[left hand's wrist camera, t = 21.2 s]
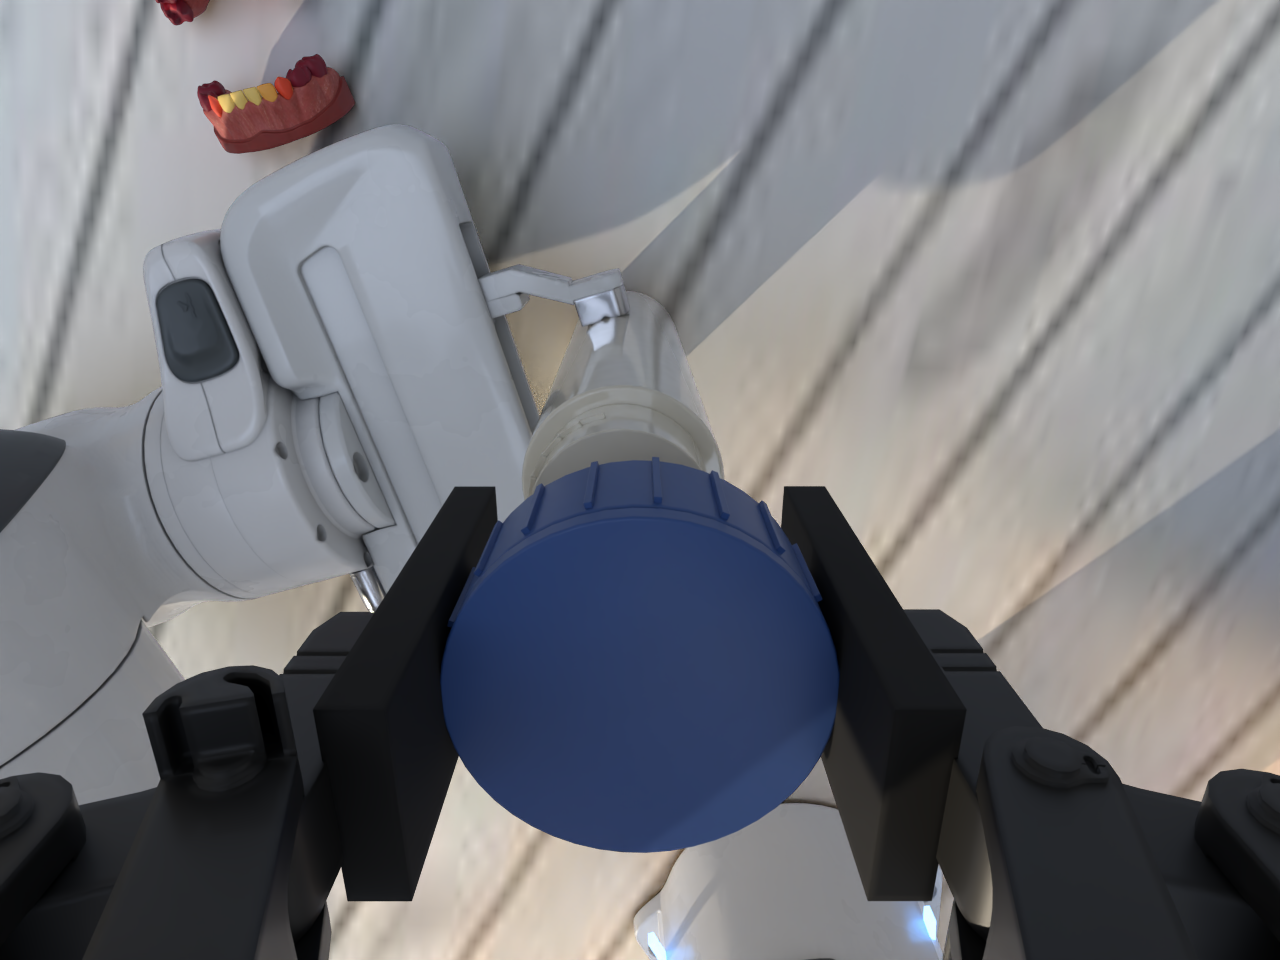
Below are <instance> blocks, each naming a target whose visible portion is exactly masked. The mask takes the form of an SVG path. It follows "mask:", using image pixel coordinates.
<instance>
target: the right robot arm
mask: <svg viewBox="0 0 1280 960" xmlns="http://www.w3.org/2000/svg"><path fill="white" fill-rule="evenodd" d="M143 273H144V282H145V288H146V293H147V298H148V303H149V308H150V314H151V319H152V324H153V329H154V335H155V341H156V347H157V353H158V359H159V366H160V373H161V381H162V387H160V388H158V389H156V390H155V391H153V392H151V393H150V394H149V395H147V396H146V397H145V398H143V399H142V400H141V401H139V402H137V403H135V404H133V405H130V406H127V407H121V408H106V407H104V408H87V409H82V410H76V411H72V412H69V413H65V414H62V415H59V416H55V417H52V418H49V419H46V420H42V421H39V422H37V423H34V424H31V425H28V426H25V427H22V428H19V429H16V430H3V429H0V779H4V778H7V777H10V776H16V775H23V774H30V773H37V772H41V773H48V774H56V775H61V776H62V777H63V778H64V779H66V780H67V781H68V782H69V783H71V784H72V786H73V790H74V793H75V796H76V799H77V802H78V805H82V804H87V803H92V802H96V801H101V800H105V799H110V798H114V797H119V796H124V795H128V794H133V793H137V792H141V791H145V790H148V789H152V788H155V787H157V786H158V784H159V781H160V776H159V772H158V769H157V765H156V761H155V758H154V754H153V751H152V747H151V743H150V740H149V736H148V733H147V729H146V726H145V722H144V718H143V715H142V713H143V712H144V711H145V710H146V709H147V707H148V706H149V705H150V704H151V703H152V701H153V700H154V699H155V698H156V697H158V696H159V695H160V694H162V693H163V692H165V691H166V690H168V689H169V688H171V687H172V686H174V685H175V684H177V683H179V682H182V681H184V680H185V679H184V677H183V676H182V675H181V673H180V672H179V670H178V669H177V668H176V666H175V665H174V664H173V662H172V661H171V659H170V658H169V657H168V655H167V654H166V653H165V651H164V650H163V648H162V647H161V646H160V644H159V643H158V642H157V640H156V639H155V638H154V636H153V635H152V633H151V632H150V631H149V629H148V627H152V626H155V625H157V624H160V623H163V622H166V621H168V620H171V619H173V618H174V617H176V616H178V615H180V614H181V613H183V612H185V611H186V610H188V609H189V608H191V607H193V606H194V605H197V604H199V603H202V602H207V601H226V602H236V601H245V600H252V599H256V598H259V597H263V596H266V595H270V594H274V593H278V592H282V591H285V590H289V589H293V588H297V587H300V586H304V585H308V584H312V583H315V582H320V581H323V580H327V579H331V578H334V577H338V576H342V575H345V574H350V576H351V578H352V580H353V582H354V584H355V586H356V589H357V591H358V593H359V595H360V597H361V599H362V601H363V603H364V604H365V606H366V608H367V609H368V611H369V612H375V611H376V609H377V608H378V606H379V605H380V603H381V602H382V600H383V598H384V597H385V595H386V594H387V592H388V591H389V589H390V587H391V586H392V584H393V583H394V581H395V580H396V578H397V576H398V575H399V573H400V572H401V570H402V569H403V567H404V565H405V564H406V562H407V561H408V559H409V558H410V556H411V554H412V553H413V551H414V550H415V548H416V547H417V545H418V543H419V542H420V540H421V539H422V537H423V536H424V534H425V532H426V531H427V529H428V528H429V526H430V525H431V523H432V521H433V520H434V518H435V517H436V515H437V514H438V512H439V510H440V509H441V507H442V506H443V504H444V503H445V501H446V500H447V498H448V496H449V495H450V493H451V492H452V490H453V489H454V487H455V486H495V488H496V502H497V516H498V520H499V521H501V522H502V523H503V522H504V521H505V520H506V518H507V517H508V516H509V515H510V514H511V513H512V512H513V511H514V510H515V509H516V508H517V507H518V506H519V505H520V504H521V503H522V502H524V501H525V500H524V495H523V490H522V469H523V462H524V458H525V453H526V451H527V448H528V445H529V443H530V440H531V438H532V435H533V433H534V430H535V428H536V425H537V423H538V420H539V418H540V415H539V412H538V409H537V406H536V403H535V400H534V397H533V394H532V391H531V388H530V386H529V383H528V380H527V377H526V374H525V371H524V368H523V365H522V362H521V359H520V356H519V354H518V351H517V348H516V345H515V342H514V339H513V336H512V333H511V330H510V327H509V324H508V321H507V319H506V316H505V315H506V314H509V313H512V312H516V311H519V310H521V309H522V308H523V307H524V306H525V305H526V304H527V302H528V301H529V299H530V297H529V295H534V296H538V297H542V298H546V299H551V300H555V301H559V302H563V303H568V304H572V305H574V304H575V307H576V310H577V313H578V316H579V319H580V322H581V325H582V327H583V326H587V325H591V324H594V323H597V322H599V321H601V320H602V319H603V317H604V316H607V317H610V318H612V317H618V316H621V315H624V314H627V313H628V312H630V305H629V301H628V297H627V294H626V290H625V286H624V282H623V279H622V276H621V272H620V269H619V268H618V269H612V270H608V271H605V272H601V273H598V274H595V275H591V276H588V277H584V278H581V279H578V280H574V281H572V278H571V277H567V276H563V275H559V274H555V273H551V272H548V271H544V270H540V269H536V268H532V267H528V266H524V265H521V264H518V265H515V266H511V267H508V268H505V269H501V270H498V271H495V272H490V269H489V266H488V263H487V260H486V257H485V254H484V252H483V249H482V246H481V243H480V240H479V237H478V234H477V231H476V228H475V225H474V222H473V220H472V217H471V214H470V211H469V208H468V205H467V202H466V199H465V196H464V193H463V190H462V187H461V185H460V182H459V179H458V176H457V173H456V170H455V167H454V164H453V161H452V158H451V155H450V153H449V150H448V149H447V147H446V146H445V145H444V144H443V143H442V142H441V141H439V140H438V139H436V138H434V137H432V136H430V135H429V134H427V133H425V132H423V131H421V130H419V129H417V128H414V127H411V126H408V125H402V124H391V125H385V126H381V127H377V128H374V129H371V130H368V131H365V132H362V133H359V134H356V135H354V136H351V137H349V138H346V139H344V140H341V141H338V142H336V143H334V144H331V145H329V146H327V147H324V148H322V149H320V150H317V151H315V152H313V153H311V154H309V155H307V156H305V157H303V158H301V159H299V160H296V161H294V162H293V163H291V164H289V165H287V166H285V167H283V168H281V169H279V170H277V171H275V172H274V173H272V174H270V175H268V176H267V177H265V178H263V179H261V180H260V181H258V182H257V183H255V184H253V185H252V186H250V187H249V188H248V189H247V190H245V191H244V192H243V193H242V194H241V195H240V196H239V197H238V198H237V199H236V200H235V201H234V202H233V204H232V205H231V206H230V208H229V210H228V211H227V213H226V215H225V218H224V221H223V223H222V228H221V229H216V230H209V231H203V232H199V233H195V234H191V235H187V236H184V237H180V238H177V239H174V240H171V241H169V242H167V243H164V244H162V245H159V246H157V247H155V248H153V249H152V250H151V251H149V252H148V254H147V255H146V257H145V260H144V266H143ZM942 880H943V873H942V870H941V868H940V865H938V870H937V876H936V881H935V887H934V892H933V898H932V901H868V900H867V897H866V894H865V891H864V888H863V885H862V882H861V879H860V876H859V873H858V870H857V866H856V863H855V860H854V857H853V854H852V851H851V848H850V845H849V842H848V839H847V835H846V832H845V829H844V826H843V823H842V820H841V817H840V814H839V811H838V809H835V808H832V807H827V806H822V805H816V804H806V803H783V804H780V805H779V806H778V807H776V808H775V809H774V810H772V811H771V812H769V813H768V814H766V815H765V816H763V817H762V818H761V819H759V820H758V821H756V822H754V823H752V824H750V825H748V826H747V827H745V828H743V829H741V830H739V831H737V832H735V833H732V834H730V835H727V836H725V837H722V838H720V839H717V840H715V841H711V842H708V843H704V844H701V845H697V846H694V847H689V848H685V850H684V851H683V852H682V853H681V855H680V856H679V858H678V859H677V861H676V862H675V864H674V866H673V868H672V870H671V872H670V875H669V877H668V879H667V881H666V883H665V885H664V887H663V889H662V890H661V891H660V893H659V894H657V895H656V896H655V897H654V898H652V899H651V900H650V901H649V902H648V903H647V904H645V905H644V906H643V907H642V908H641V909H640V910H639V911H638V913H637V914H636V915H635V917H634V921H633V924H634V932H635V938H636V940H637V942H638V944H639V945H640V946H641V948H642V949H643V951H644V952H645V953H646V955H647V956H648V958H649V959H650V960H942V958H943V952H942V950H941V947H940V944H939V942H938V927H939V915H940V903H941V891H942Z"/></svg>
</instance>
